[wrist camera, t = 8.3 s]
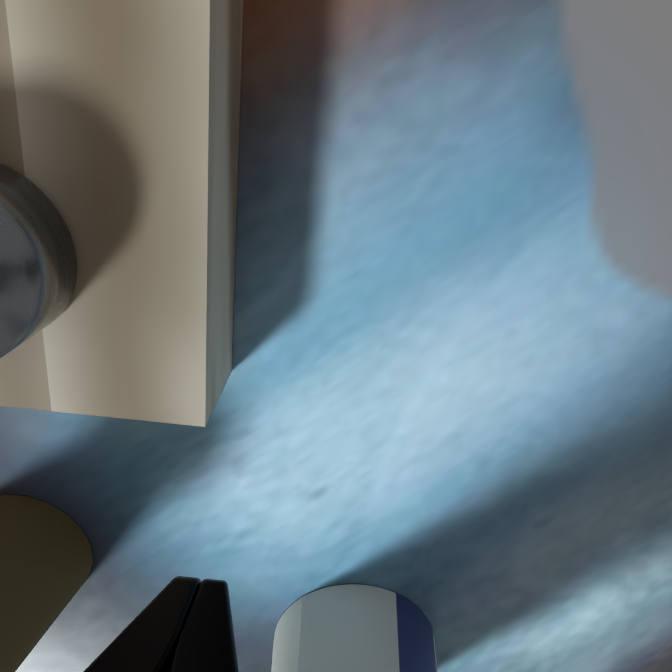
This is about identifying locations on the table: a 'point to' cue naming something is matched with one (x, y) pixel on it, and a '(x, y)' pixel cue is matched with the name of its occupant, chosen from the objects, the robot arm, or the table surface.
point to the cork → (36, 572)
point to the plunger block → (129, 198)
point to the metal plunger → (31, 260)
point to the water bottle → (353, 633)
